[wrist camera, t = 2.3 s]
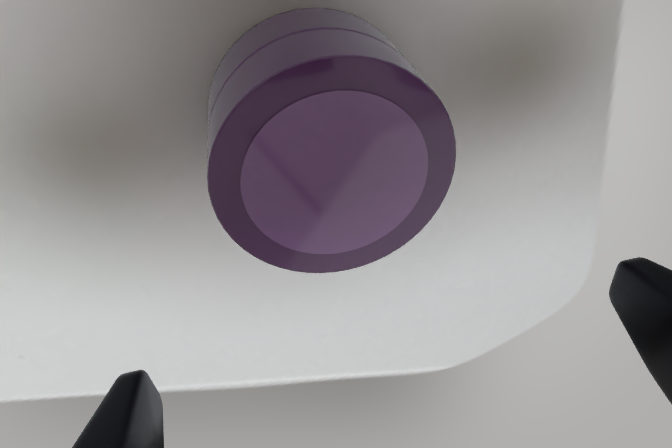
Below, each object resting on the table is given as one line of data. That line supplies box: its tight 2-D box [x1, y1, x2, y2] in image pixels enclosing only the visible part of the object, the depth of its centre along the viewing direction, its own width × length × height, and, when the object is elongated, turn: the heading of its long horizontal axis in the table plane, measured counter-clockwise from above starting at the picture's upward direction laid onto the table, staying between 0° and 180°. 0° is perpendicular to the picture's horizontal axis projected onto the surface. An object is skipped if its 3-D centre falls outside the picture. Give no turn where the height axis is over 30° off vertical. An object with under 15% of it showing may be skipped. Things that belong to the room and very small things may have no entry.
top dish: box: [207, 29, 456, 273], centre depth 14 cm, size 7×7×2 cm
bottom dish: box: [208, 8, 405, 128], centre depth 16 cm, size 7×7×2 cm
